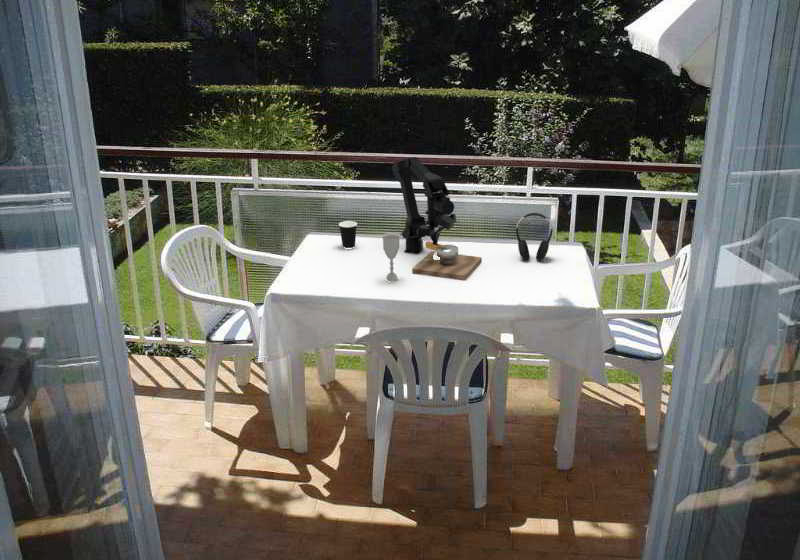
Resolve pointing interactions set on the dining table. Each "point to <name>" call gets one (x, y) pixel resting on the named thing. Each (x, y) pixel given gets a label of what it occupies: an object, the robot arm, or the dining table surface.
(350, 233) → the dixie cup
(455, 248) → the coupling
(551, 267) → the dining table surface
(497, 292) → the dining table surface
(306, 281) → the dining table surface
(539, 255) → the headphones
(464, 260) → the wooden cutting board
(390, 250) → the chalice
